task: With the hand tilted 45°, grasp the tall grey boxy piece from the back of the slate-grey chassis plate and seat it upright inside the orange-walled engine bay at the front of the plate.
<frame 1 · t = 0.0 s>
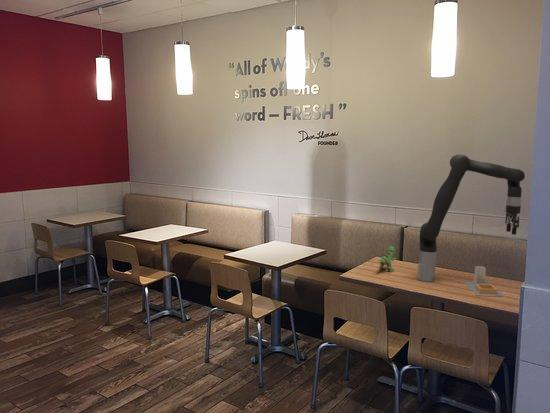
hand: (511, 233, 279), 29 cm above the table, tool pointing down, fingers open, 8 cm apart
toy: (387, 271, 304), on the table
grey boxy piece: (479, 284, 276), point 1 cm above the table, touching chassis
chassis: (482, 290, 269), on the table
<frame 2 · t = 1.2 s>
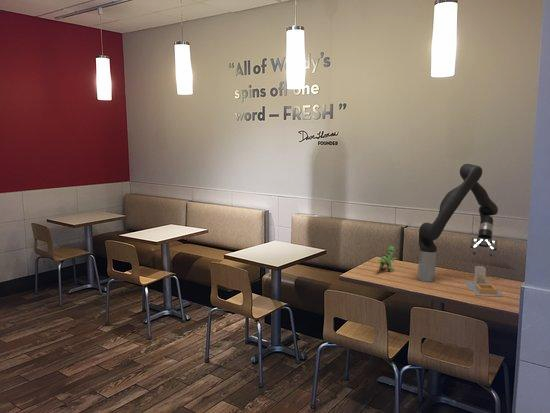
hand: (482, 254, 284), 16 cm above the table, tool tilted 45°, fingers open, 8 cm apart
nothing on the table moved.
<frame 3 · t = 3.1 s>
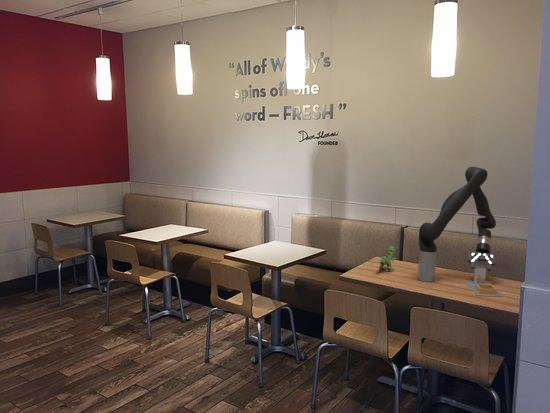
hand: (480, 269, 277), 9 cm above the table, tool tilted 45°, fingers open, 8 cm apart
nothing on the table moved.
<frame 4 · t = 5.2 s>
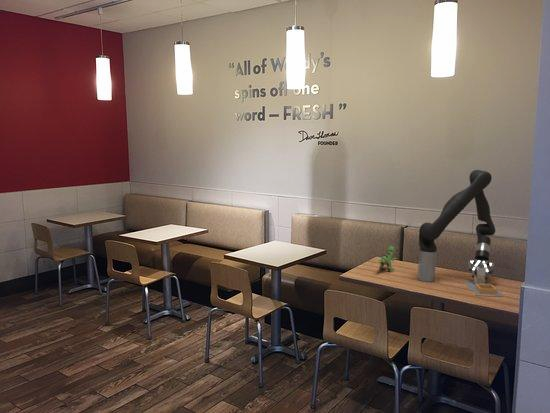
hand: (479, 278, 274), 5 cm above the table, tool tilted 45°, fingers closed on grey boxy piece, 5 cm apart
grey boxy piece: (479, 284, 276), point 1 cm above the table, touching chassis, gripper
everything else where it was.
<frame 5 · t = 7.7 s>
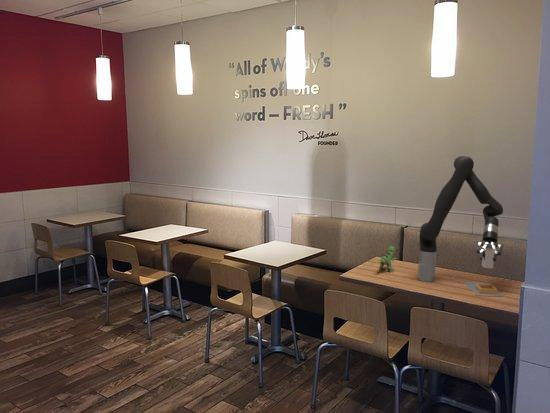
hand: (487, 260, 262), 18 cm above the table, tool tilted 45°, fingers closed on grey boxy piece, 5 cm apart
grey boxy piece: (487, 267, 264), point 14 cm above the table, touching gripper
everything else where it was.
when the fingers open (7 cm above the table, at t = 10.5 s): grey boxy piece drops 1 cm, resting on chassis.
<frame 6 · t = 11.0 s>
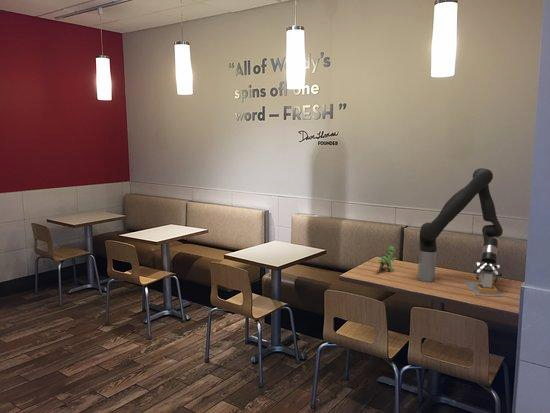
hand: (486, 280, 262), 7 cm above the table, tool tilted 45°, fingers open, 8 cm apart
grey boxy piece: (485, 291, 264), point 1 cm above the table, touching chassis
everything else where it was.
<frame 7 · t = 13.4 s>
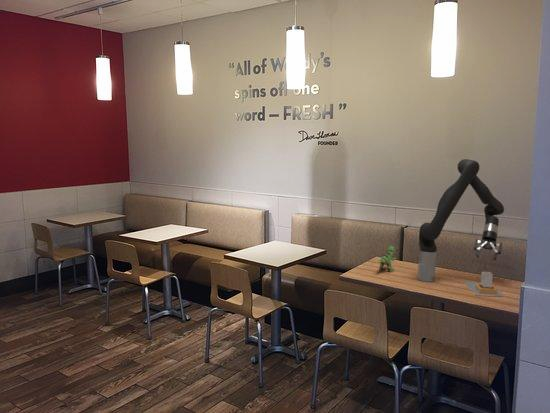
hand: (486, 258, 275), 16 cm above the table, tool tilted 40°, fingers open, 8 cm apart
nothing on the table moved.
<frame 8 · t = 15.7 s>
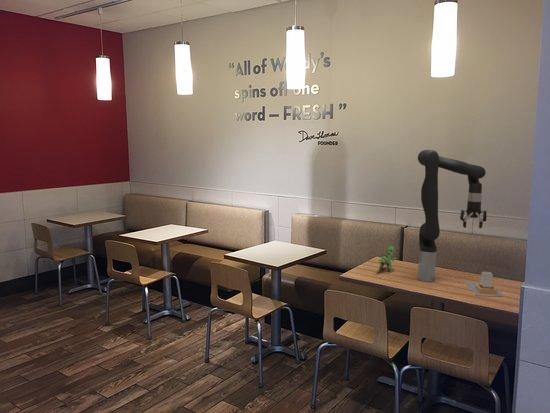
hand: (472, 227, 289), 30 cm above the table, tool pointing down, fingers open, 8 cm apart
nothing on the table moved.
at the end: grey boxy piece 0.1 cm from the target spot on the chassis, point 1.0 cm above the chassis's base; grey boxy piece tilted 0°; the gripper is holding nothing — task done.
